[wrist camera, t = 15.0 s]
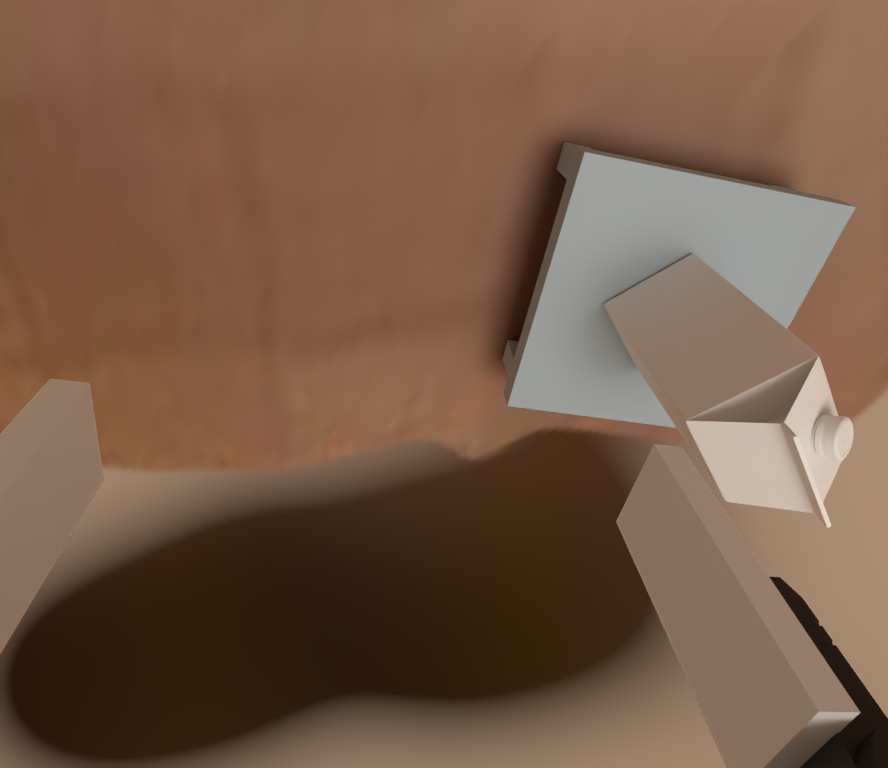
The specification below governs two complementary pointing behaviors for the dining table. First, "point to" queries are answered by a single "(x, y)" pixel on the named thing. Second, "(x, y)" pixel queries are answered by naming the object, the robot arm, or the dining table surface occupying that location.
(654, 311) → the milk carton
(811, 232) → the grey square footed tray
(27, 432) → the robot arm
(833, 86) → the dining table surface
